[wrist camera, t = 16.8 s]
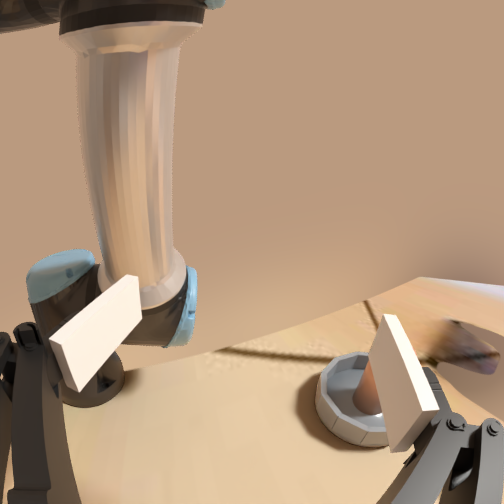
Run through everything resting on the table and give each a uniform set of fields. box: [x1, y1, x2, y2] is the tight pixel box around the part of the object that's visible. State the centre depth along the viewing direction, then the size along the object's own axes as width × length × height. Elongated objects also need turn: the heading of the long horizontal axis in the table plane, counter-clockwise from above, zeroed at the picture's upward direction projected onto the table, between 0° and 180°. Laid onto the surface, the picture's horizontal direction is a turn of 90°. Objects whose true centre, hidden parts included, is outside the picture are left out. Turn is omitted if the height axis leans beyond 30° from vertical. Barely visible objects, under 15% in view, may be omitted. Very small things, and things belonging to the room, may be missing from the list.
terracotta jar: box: [352, 347, 417, 415], centre depth 40 cm, size 8×8×12 cm
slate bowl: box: [315, 352, 389, 447], centre depth 42 cm, size 20×20×4 cm
